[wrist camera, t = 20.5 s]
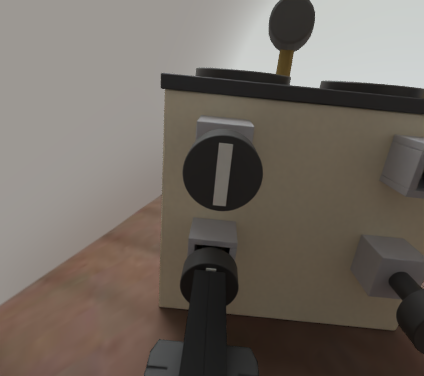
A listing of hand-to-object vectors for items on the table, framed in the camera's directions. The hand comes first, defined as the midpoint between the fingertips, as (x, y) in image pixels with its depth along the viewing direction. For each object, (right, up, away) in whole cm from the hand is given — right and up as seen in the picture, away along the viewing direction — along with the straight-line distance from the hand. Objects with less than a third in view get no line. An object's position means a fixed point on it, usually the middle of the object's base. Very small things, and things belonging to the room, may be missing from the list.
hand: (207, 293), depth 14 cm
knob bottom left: (0, -1, +3) cm, 3 cm away
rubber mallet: (+11, +8, +43) cm, 46 cm away
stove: (+5, -4, +9) cm, 11 cm away
